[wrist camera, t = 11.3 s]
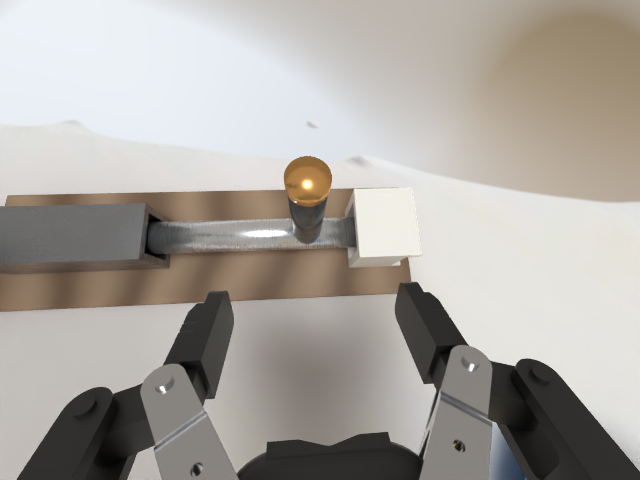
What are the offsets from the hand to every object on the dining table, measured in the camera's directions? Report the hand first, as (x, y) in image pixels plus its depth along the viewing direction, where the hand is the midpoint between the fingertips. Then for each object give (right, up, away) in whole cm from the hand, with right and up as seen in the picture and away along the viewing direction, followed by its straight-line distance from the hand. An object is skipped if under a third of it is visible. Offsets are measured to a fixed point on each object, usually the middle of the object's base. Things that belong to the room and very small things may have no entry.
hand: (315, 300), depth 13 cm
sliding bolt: (-5, +3, +13) cm, 14 cm away
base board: (-11, +2, +14) cm, 18 cm away
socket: (+5, +3, +14) cm, 16 cm away
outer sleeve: (-21, +2, +13) cm, 25 cm away
